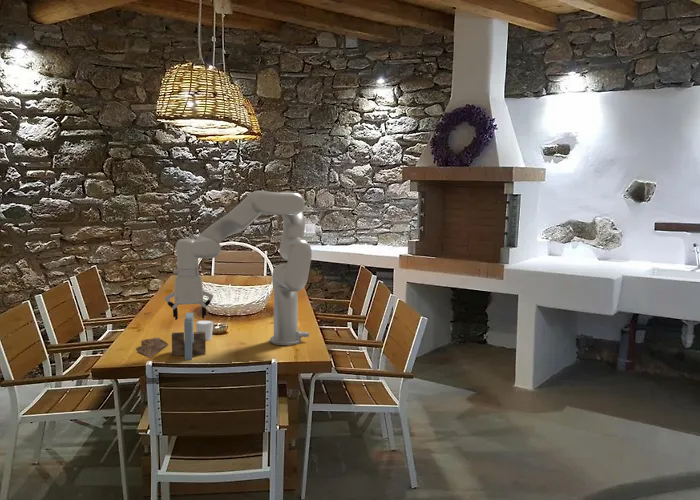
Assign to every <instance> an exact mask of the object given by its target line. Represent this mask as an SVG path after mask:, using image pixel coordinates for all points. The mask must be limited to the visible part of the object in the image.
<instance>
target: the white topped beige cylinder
mask: <svg viewBox="0 0 700 500" xmlns="http://www.w3.org/2000/svg"><path fill="white" fill-rule="evenodd" d="M195 328H196V330H195V331H196V332H205V336H206V341H211V340H212V338H213V328H214V321H213V320H207V319H205V320H197V321H196V322H195Z"/></svg>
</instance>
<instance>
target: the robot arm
mask: <svg viewBox="0 0 700 500" xmlns="http://www.w3.org/2000/svg"><path fill="white" fill-rule="evenodd" d="M305 202H306V201H305V199H304V197H303V196H302V195H301V194H300V193H296V192H290V191H280V192H275V191H267V190H254V191H253V192H251V193H250V194H248V195H247V196H246V197H245V198H244V199H243V200H242V201H240V202H239V203H238V204H237V205H236V206H235V207H234V208H233V209H232V210H230V211H229V212H228V213H227V214H225V215H224V216H222V217H221V218H219V219H218V220H216V221H215V222H213V223H212V224H210V225H209V226H208V227H206V229H204V230H203V231H202V232H201V233H200V234H199V235H198V236H197V237H196V238H195V239H194V238H181V239H178V240H177V241H176V244H175V245H176V246H175V247H176V267H177V268H176V269H173V271H172V272H173V274H174V275H176V276H175V279H174V291H173V292H171V293H169V294H168V295H166V296H165V297H164V301H165V302H166V303H167V305H168V306H169V307H170V308H171V309H172V316H173V318H174V320H175V321H176V320H178V318H179V315H178V312H179V311H178V306H179V305H182V306H183V305H198V304H199V305H201V317H202V319H205V317H206V316H207V307H208V306H209V305H210V304H211V302H212V300H213V298H214V294H212V293H210V292H207V291H205V290H204V285H203V280H202V276H201V275H200V272H199V259H215V258H216V257H218V256H219V255H220V253H221V251H222V247H221V244H220V243H221V242H222V241H223V240H224V239H226V238H228V237H229V236H232V235H236V234H238V233H239V234H240V233H241V232H243V231H244V230H246V229H247V228H248V227H249V226H250V225H251V224H252V223H254V222H255V220H256V219H258V218H259V216H261V215H272V216H273V215H276V216H281V217H282V221H283V225H282V233H281V239H280V245H279V255H280V257H281V258H282V259H284V260H286V261H287V262H286V263H284V262H283V263H279V264H278V265H276V266H275V267H274V269H273V270H272V274H271V282H272V289H273V335H272V336H271V337H269V343H271V344H273V345H275V346H277V345H278V346H294V345H297V344H300V343H301V342H302V338H309V337H310V332H309V331H303V330H302V331H299V328H298V314H299V313H298V309H299V308H298V304H299V303H298V301H299V299H298V298H299V297H298V292H300V291H302V290H303V289H304V288H305V286H306V284H307V282H308V278H309V273H310V269H311V263H312V255H313V253H312V247H311V245H310V243H309V242H307V240H305V239H304V237H305V227H306V219H305V215H304V212H303V211H304V209H305ZM204 296H205V297H207V300H206V301H205V300H204ZM173 297H174V303H173V302H172V301H171V300H170V299H172V298H173Z"/></svg>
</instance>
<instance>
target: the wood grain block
mask: <svg viewBox="0 0 700 500" xmlns="http://www.w3.org/2000/svg"><path fill="white" fill-rule="evenodd" d="M193 340H194V342H193V343H192V356H195V355H206V352H207V349H206V347H207V346H206V336H205V332H197V331H193ZM171 356H185V337H184V332H171Z"/></svg>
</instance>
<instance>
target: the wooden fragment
mask: <svg viewBox="0 0 700 500" xmlns="http://www.w3.org/2000/svg"><path fill="white" fill-rule="evenodd" d="M167 345H169V344H168V343H167V342H166V341H165V340H163V339H162V338H160V337H153V338H147V339H143V340H141V346H138V347H136V349H137V351H136V354H137V353H138V354H140V355H142V356H143V355H144V356H146V358H152V357H154V355H156V354H157V353H159V352H160V351H161V350H162V349H163V348H165V347H167Z"/></svg>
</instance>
